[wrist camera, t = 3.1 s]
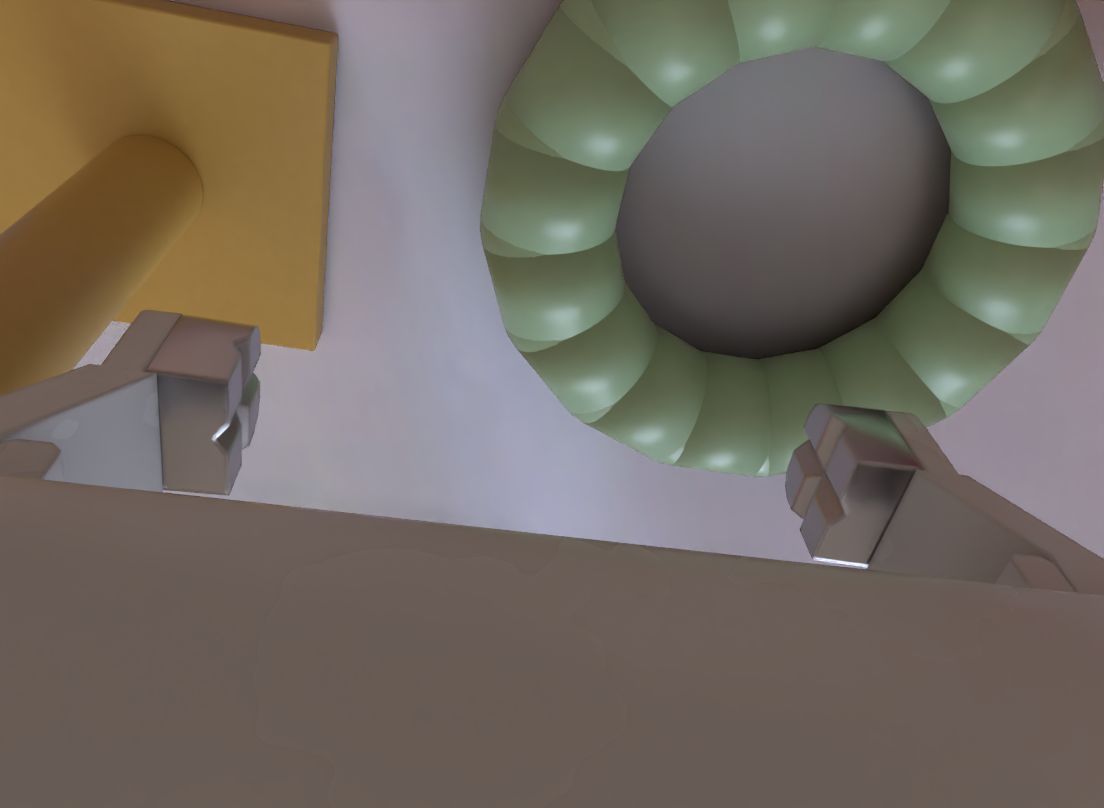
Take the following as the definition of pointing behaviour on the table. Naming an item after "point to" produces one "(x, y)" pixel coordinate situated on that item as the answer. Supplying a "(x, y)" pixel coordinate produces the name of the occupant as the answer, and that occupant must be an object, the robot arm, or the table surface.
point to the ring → (863, 353)
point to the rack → (158, 174)
